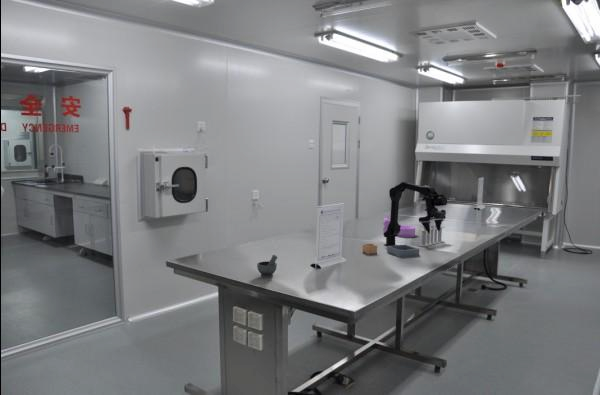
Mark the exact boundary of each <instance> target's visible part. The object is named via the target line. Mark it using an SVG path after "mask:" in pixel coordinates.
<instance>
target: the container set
mask: <svg viewBox="0 0 600 395" xmlns="http://www.w3.org/2000/svg"><path fill="white" fill-rule="evenodd" d="M390 217H391V215H390V216H386V218H385V217H384V219H383V228H382V231H383V234H384V233H385V232H386V231H387V228H388V225H389V223H390ZM400 225H401V227H400V230H401V231H400V232H399V234H398V236H397V237H398V238H399V237H401V238H413V237H416V227H415V226H412V225H407V224H406V225H405V224H404V225H403V224H400Z"/></svg>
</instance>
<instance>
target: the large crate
mask: <svg viewBox="0 0 600 395" xmlns="http://www.w3.org/2000/svg"><path fill="white" fill-rule="evenodd" d="M386 247H387V248H386V249H387V250H386V253H388V254H390V253H391V254H390V255H392V256H395V255H396V257H398V258H405V257H407V256H408V257H416V256H415V255H418V256H420V249H419V248H417V247H416V246H411V245H408V244H395V246H386Z"/></svg>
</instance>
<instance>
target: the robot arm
mask: <svg viewBox="0 0 600 395" xmlns="http://www.w3.org/2000/svg"><path fill="white" fill-rule="evenodd" d="M406 190H410V191H414V192H417V193H420V195H422V196H423V197H422V198H421V201H424V202H425V208H424V211H426V215H425V216H420V217H419V218H418V222H419V223H420V224H422V226H423V228H424V227H425V229H426V230H427V231H426V233H427V232H428V233H430V234H431V230H430V228H431V225H430V224H431V223H432V222H431V220H434V223H435V224H434V225H436V227H437V232H438V231H440V227H441V226H442V224H443V221H445V219H446V214H447V212H446V209H441V210H439V209H438V207H442V206H444V207H445V206H447V204H448V199H447V197H446V196H445V194H444V193H443V194H438V192H437V191H436V189H435V187H434V186H425V185H424V186H422V185H419V184H416V183H415V184H414V183H411V182H408V181H402V182H400V183H399V184H397V185H395V186H393V187H391V188H390V189H389V190H388V192H389V193H388V194H389V198H390V201H391V203H390V205H391V206H390V223H389V225H388V228H387V231H386V232H385V233H384V232H383V237H384V238H385V244H383V245H384V246H386V247H387V246H395V245H396V237H399V236H398V234H399V232H400V231H401V230H400V227H401V225H402V224H399V221H398V220H399V209H400V208H399V207H400V200H401V198H402V195H403V192H405V191H406Z"/></svg>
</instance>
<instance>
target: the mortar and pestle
mask: <svg viewBox="0 0 600 395" xmlns="http://www.w3.org/2000/svg"><path fill="white" fill-rule="evenodd" d="M277 259H278V256H277V255H276V254H273V255H272V256H271V258H270V260H269V261H266V260H265V261H260V262H258V263H257V264H256V265H257V270H258V272H259V273H260V277H261V279H273V277H274V273H275V272H276V270H277V266H278V265H277V262H276V261H277Z"/></svg>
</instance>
